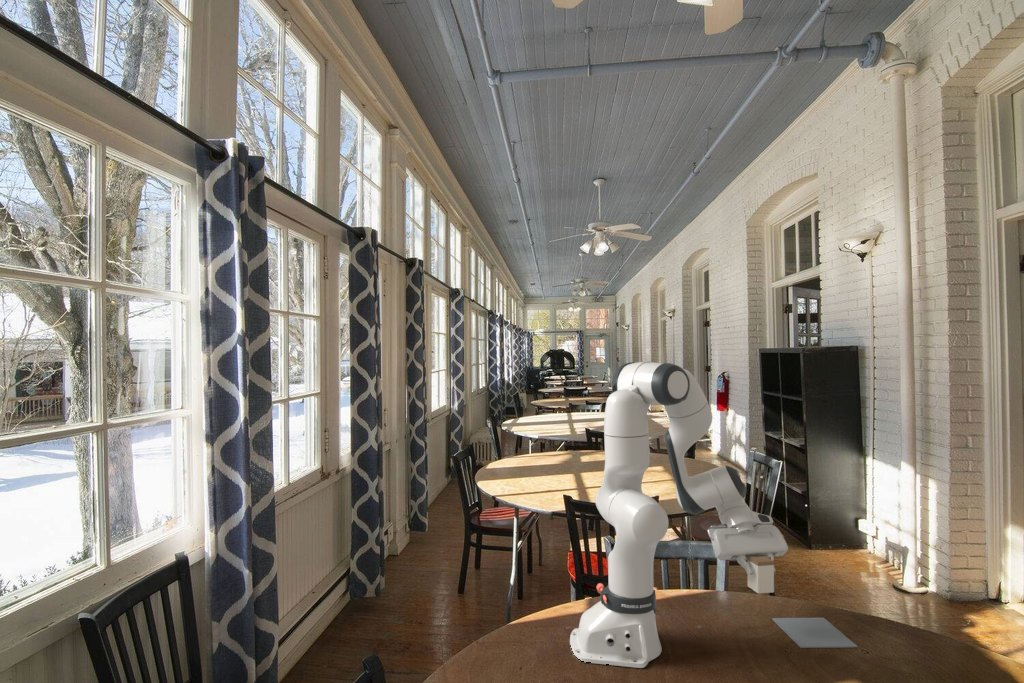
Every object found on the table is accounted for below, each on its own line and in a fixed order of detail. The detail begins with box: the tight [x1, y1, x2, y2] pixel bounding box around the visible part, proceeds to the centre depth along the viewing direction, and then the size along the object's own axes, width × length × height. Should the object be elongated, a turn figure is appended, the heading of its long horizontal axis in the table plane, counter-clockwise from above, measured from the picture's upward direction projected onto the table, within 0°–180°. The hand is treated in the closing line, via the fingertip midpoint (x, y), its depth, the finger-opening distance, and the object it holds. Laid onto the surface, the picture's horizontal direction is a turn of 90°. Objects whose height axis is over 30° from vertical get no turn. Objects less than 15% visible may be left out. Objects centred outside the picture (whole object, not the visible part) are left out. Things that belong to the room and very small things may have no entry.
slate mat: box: [771, 617, 859, 649], centre depth 135 cm, size 14×14×1 cm
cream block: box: [746, 555, 775, 595], centre depth 137 cm, size 4×4×8 cm
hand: (762, 573), depth 136 cm, fingers closed on cream block, 4 cm apart
